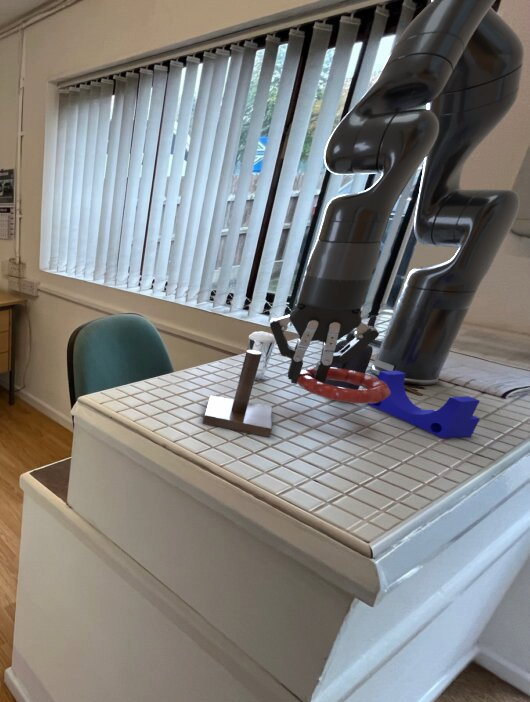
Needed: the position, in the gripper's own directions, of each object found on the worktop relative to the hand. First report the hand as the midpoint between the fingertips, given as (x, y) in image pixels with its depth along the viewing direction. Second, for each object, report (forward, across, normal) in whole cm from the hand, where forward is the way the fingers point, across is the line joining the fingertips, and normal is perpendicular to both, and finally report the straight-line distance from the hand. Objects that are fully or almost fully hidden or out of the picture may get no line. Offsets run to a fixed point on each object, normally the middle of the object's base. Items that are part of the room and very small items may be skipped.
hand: (303, 383), depth 73 cm
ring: (-1, -4, 0) cm, 5 cm away
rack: (+6, +8, +6) cm, 11 cm away
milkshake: (+6, +6, -16) cm, 18 cm away
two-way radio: (+6, -6, -12) cm, 15 cm away
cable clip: (+6, -16, -8) cm, 19 cm away
